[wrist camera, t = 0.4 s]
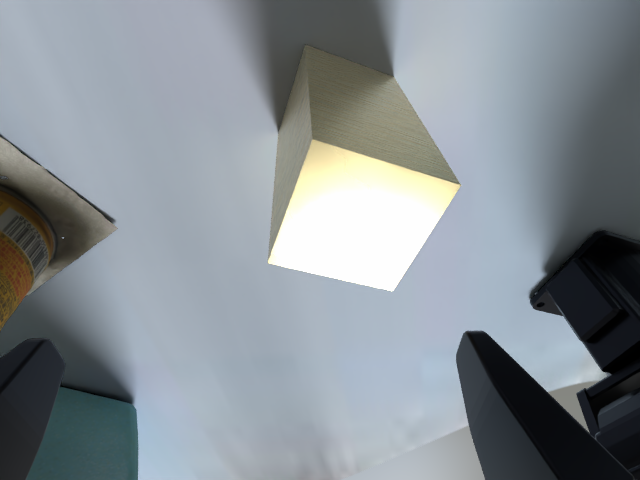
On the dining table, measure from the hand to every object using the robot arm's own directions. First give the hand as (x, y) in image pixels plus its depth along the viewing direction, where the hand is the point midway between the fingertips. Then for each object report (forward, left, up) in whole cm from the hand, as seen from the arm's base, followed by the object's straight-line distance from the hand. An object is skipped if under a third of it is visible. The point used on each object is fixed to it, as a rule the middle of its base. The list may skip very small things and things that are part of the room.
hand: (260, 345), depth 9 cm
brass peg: (-2, -2, -12) cm, 12 cm away
